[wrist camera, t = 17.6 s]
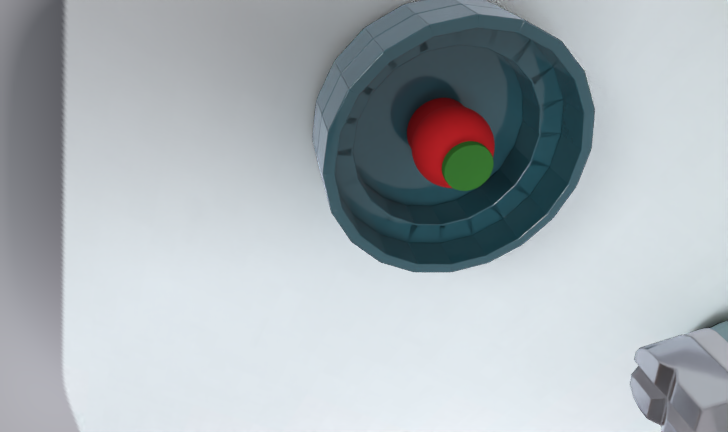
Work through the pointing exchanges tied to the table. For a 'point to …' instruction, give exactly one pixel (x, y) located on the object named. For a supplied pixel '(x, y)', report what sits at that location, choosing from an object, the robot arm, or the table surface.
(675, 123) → the table surface
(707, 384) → the robot arm
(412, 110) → the bowl
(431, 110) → the strawberry
